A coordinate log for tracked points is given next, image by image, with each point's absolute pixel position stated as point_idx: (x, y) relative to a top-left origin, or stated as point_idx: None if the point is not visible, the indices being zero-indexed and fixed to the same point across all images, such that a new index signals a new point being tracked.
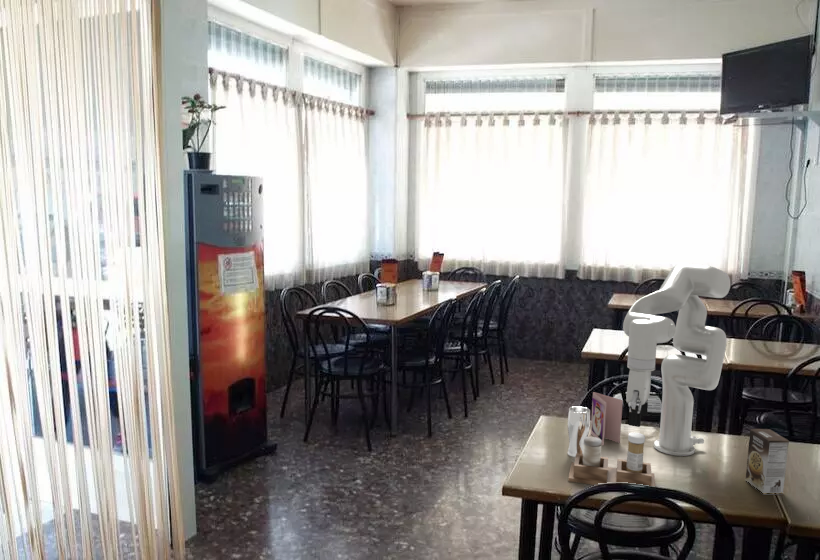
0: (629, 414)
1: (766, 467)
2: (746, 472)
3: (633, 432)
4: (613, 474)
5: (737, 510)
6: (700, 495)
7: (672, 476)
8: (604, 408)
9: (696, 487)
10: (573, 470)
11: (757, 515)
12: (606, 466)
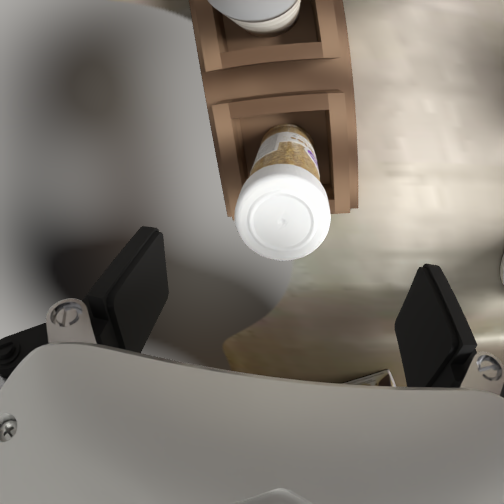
0: (103, 279)
1: None
2: (388, 384)
3: (316, 203)
4: (291, 81)
5: (237, 353)
6: (278, 305)
7: (375, 249)
8: None
9: (323, 299)
10: None
11: None
12: (240, 61)
